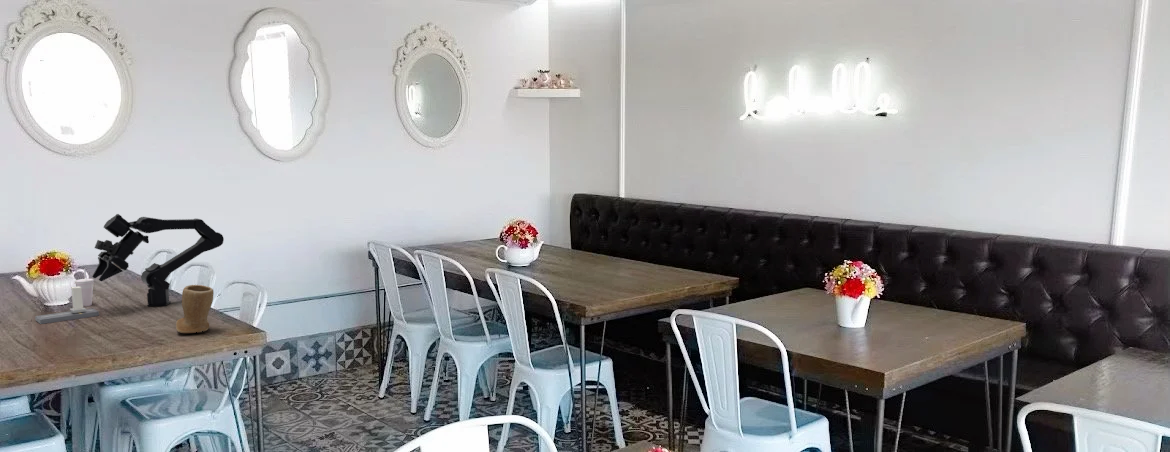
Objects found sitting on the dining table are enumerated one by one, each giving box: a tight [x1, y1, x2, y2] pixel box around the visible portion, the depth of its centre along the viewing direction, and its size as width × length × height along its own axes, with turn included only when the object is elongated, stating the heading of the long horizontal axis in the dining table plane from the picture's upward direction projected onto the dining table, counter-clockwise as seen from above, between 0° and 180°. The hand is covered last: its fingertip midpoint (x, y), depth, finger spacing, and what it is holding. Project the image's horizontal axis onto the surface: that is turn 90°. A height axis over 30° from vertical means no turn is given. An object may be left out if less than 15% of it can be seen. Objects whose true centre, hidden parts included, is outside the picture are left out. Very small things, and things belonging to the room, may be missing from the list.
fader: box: [69, 286, 87, 313], centre depth 304 cm, size 4×5×9 cm
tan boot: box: [175, 284, 215, 334], centre depth 281 cm, size 15×12×15 cm
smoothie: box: [74, 268, 95, 307], centre depth 324 cm, size 6×6×14 cm
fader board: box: [34, 307, 100, 325], centre depth 303 cm, size 18×8×2 cm, turn 133°
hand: (96, 279), depth 308 cm, fingers open, 9 cm apart
